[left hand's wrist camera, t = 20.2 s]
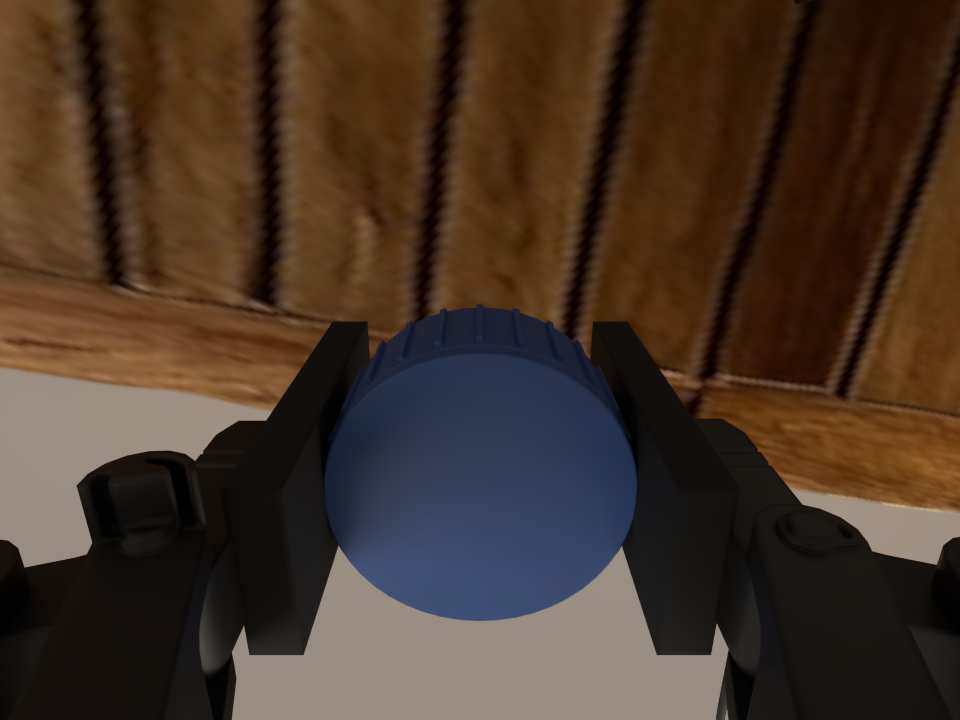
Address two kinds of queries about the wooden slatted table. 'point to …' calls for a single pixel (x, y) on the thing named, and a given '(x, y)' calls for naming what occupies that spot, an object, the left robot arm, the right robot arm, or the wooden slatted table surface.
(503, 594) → the lid
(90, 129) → the wooden slatted table surface
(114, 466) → the left robot arm
